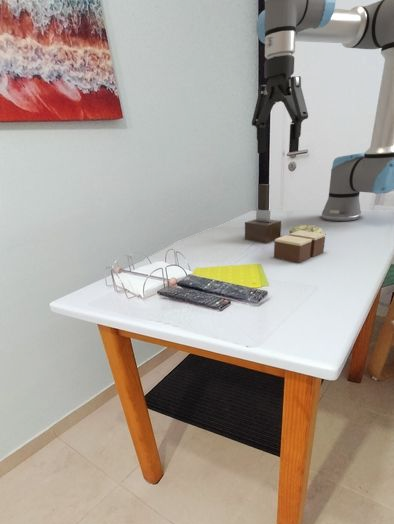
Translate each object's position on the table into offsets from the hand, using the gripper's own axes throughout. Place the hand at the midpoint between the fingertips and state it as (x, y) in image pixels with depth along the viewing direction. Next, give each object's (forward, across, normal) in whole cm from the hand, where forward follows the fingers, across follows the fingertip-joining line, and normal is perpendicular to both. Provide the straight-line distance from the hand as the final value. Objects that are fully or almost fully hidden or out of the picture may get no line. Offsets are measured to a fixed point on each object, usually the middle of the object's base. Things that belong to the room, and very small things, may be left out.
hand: (276, 152), depth 98 cm
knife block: (+28, -11, +4) cm, 30 cm away
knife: (+28, -11, +4) cm, 30 cm away
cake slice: (+28, +12, -4) cm, 30 cm away
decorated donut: (+28, -2, +16) cm, 32 cm away
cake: (+28, +11, +3) cm, 30 cm away
